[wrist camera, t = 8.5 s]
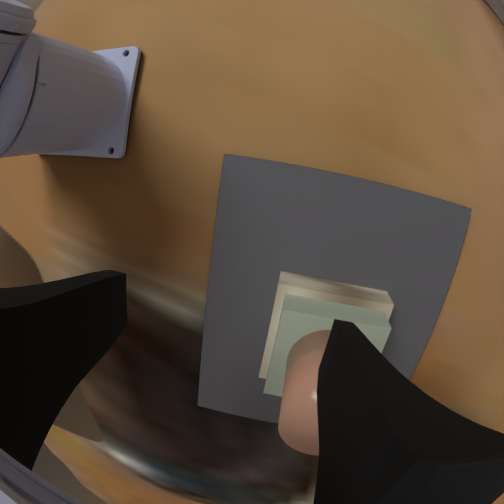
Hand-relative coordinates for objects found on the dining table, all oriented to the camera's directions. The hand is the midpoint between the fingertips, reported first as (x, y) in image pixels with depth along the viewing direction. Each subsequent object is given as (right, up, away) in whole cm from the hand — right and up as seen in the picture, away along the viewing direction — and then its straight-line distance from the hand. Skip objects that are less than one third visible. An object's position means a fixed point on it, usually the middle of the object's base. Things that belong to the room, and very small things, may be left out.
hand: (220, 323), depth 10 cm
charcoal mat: (+6, -3, +11) cm, 13 cm away
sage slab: (+5, -3, +8) cm, 11 cm away
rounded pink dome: (+5, -4, +6) cm, 9 cm away
